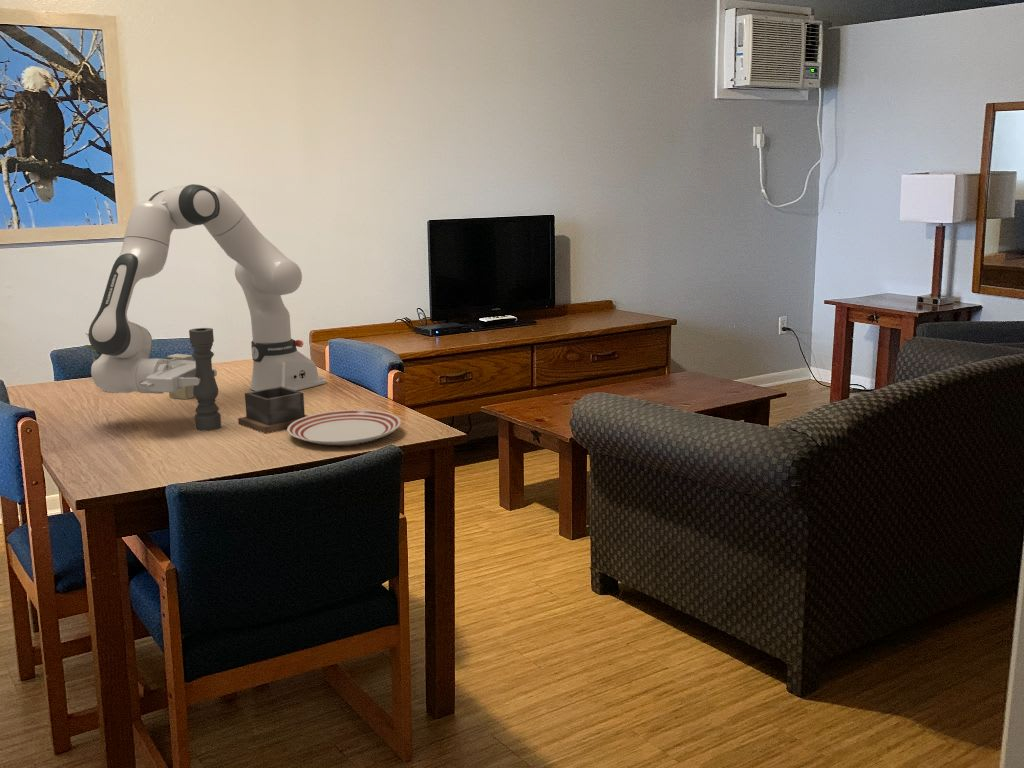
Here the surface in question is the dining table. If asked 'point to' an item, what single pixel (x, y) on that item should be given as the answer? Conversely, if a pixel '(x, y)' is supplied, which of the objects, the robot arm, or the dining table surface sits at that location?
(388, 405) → the dining table surface
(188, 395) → the skincare box
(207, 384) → the candle holder
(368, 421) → the dinner plate
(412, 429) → the dining table surface
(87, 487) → the dining table surface
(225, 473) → the dining table surface
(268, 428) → the dark square box
